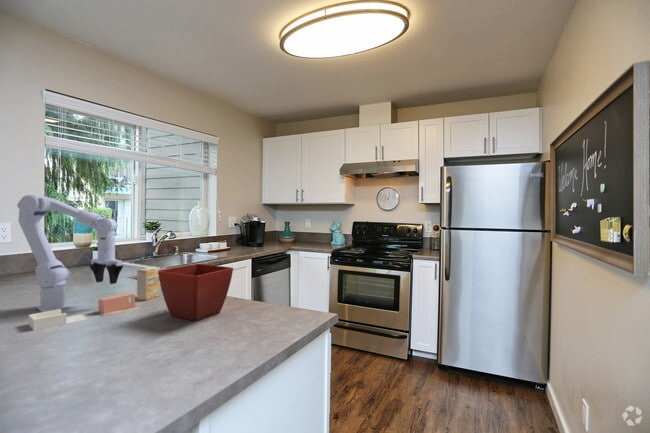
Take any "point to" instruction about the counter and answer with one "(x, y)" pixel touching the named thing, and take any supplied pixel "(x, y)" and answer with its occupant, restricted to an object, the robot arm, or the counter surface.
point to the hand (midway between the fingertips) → (106, 282)
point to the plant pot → (195, 289)
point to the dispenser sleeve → (53, 319)
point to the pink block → (116, 303)
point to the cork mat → (120, 310)
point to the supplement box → (148, 283)
